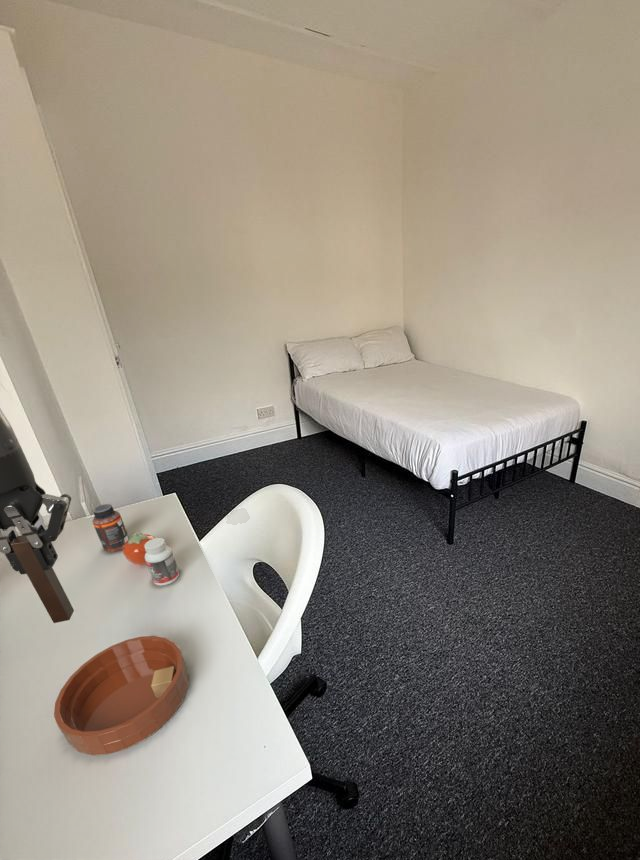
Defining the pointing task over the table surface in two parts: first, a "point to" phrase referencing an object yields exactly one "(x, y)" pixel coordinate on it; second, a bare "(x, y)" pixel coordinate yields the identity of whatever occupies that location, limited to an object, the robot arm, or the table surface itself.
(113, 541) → the supplement bottle
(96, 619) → the table surface
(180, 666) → the bowl
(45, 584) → the stick
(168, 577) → the pill bottle
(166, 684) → the block
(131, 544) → the tomato
